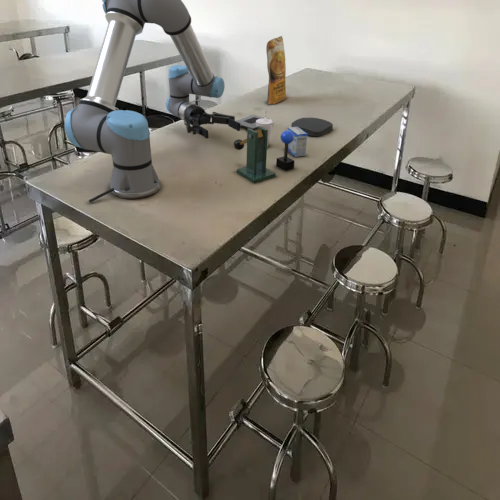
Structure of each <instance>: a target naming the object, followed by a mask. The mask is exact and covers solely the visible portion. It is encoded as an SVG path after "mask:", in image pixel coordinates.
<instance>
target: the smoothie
mask: <svg viewBox="0 0 500 500" xmlns="http://www.w3.org/2000/svg"><path fill="white" fill-rule="evenodd" d="M267 112H268V111H267V108H264V117H263V118H262V119H257V120H256V125H257V126H261V127H263V128H265V129H267V130H268V137H267V148H268V147H269V144H270V143H269V142H270V139H271V138H270V137H271V131H272V127H273V124H274V121H273V119H270V118H267ZM266 118H267V119H266Z"/></svg>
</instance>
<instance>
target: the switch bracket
mask: <svg viewBox="0 0 500 500" xmlns="http://www.w3.org/2000/svg"><path fill="white" fill-rule="evenodd" d="M260 129H261V130H262V134H263V137H261V138H259V139H258V132H256V130H260ZM256 130H255V129H253V130H252V129H250V128H249V129H248V128H246V139H247V143H246V164H245V165H246V166H243V167H239V168H237V169H236V173H237V174H239V175H240V176H242V177H244V179H247V180H248V181H250V182H252V183H253V184H256V183H259V182H262V181H265V180H270V179H272V178H275V177H276V172H274V171H272V170H270V169H269V168H267V156H268V155H267V154H268V147H267V137H268V130H267V129H265V128H263V127H261V126H257V128H256Z"/></svg>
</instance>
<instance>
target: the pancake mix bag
mask: <svg viewBox="0 0 500 500" xmlns="http://www.w3.org/2000/svg"><path fill="white" fill-rule="evenodd" d="M265 51H266V52H265V53H266V60H267V62H266V65H267V75H268V83H267V98H266V104H267V105H276V104H278V103H280V102H282V101H284V100H286V99H287V92H286V91H287V90H286V81H287V80H286V75H287V74H286V73H287V72H286V71H287V70H286V69H287V68H286V66H287V65H286V53H285V52H286V51H285V45H284V37H283V35H280V36H277V37H274V38H272V39H270V40H269V41H267V43H266V50H265Z"/></svg>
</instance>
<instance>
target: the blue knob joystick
mask: <svg viewBox="0 0 500 500" xmlns="http://www.w3.org/2000/svg"><path fill="white" fill-rule="evenodd" d="M293 138H294V136H293V133H292V132H290V131H288V130H284V131H282V132H281V134H280V141H281V142H282V143H283V144H284V150H283V156H279V157H276V160H275V167H277V168H278V169H280V170H282V171H284V172H287V171H290V170H294V169H295V160H294V159H292V158H290V157H289V155H288V154H289V151H288V144H289V143H291V142H292V141H293Z"/></svg>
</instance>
